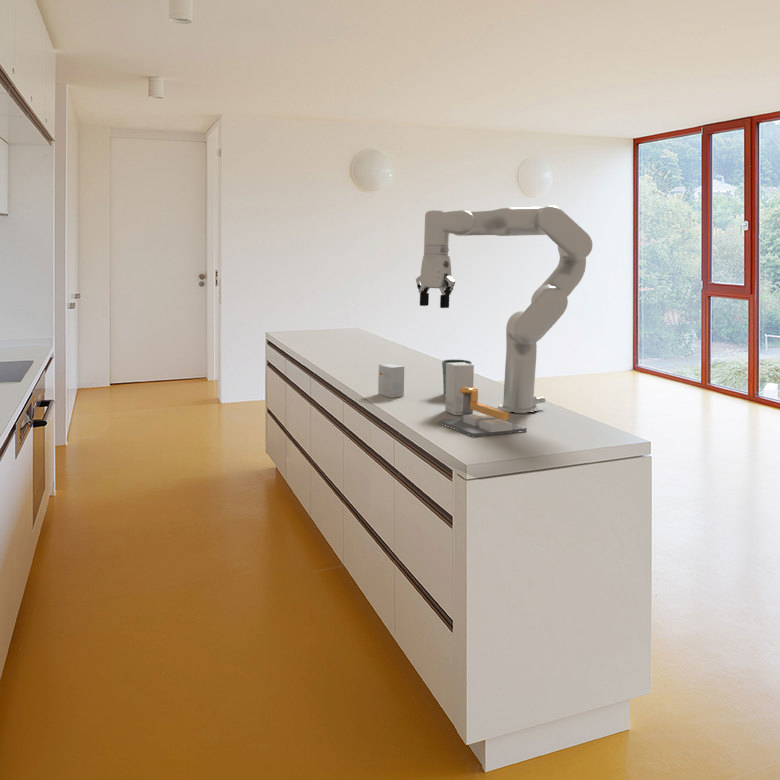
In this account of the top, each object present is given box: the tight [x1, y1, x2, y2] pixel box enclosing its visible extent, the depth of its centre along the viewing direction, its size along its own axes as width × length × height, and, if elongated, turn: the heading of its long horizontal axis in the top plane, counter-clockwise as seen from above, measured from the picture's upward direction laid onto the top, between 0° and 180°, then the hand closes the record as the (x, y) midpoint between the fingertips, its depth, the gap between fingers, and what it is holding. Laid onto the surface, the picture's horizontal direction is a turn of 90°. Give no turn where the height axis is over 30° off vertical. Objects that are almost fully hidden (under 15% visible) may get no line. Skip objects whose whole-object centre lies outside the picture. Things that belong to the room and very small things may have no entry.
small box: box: [377, 363, 405, 399], centre depth 267 cm, size 8×6×10 cm
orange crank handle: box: [460, 386, 510, 421], centre depth 221 cm, size 21×5×6 cm, turn 29°
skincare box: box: [444, 362, 475, 416], centre depth 241 cm, size 8×7×16 cm
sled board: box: [438, 394, 527, 438], centre depth 222 cm, size 18×18×8 cm
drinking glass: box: [441, 358, 472, 396], centre depth 271 cm, size 10×10×12 cm
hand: (434, 306), depth 243 cm, fingers open, 9 cm apart
